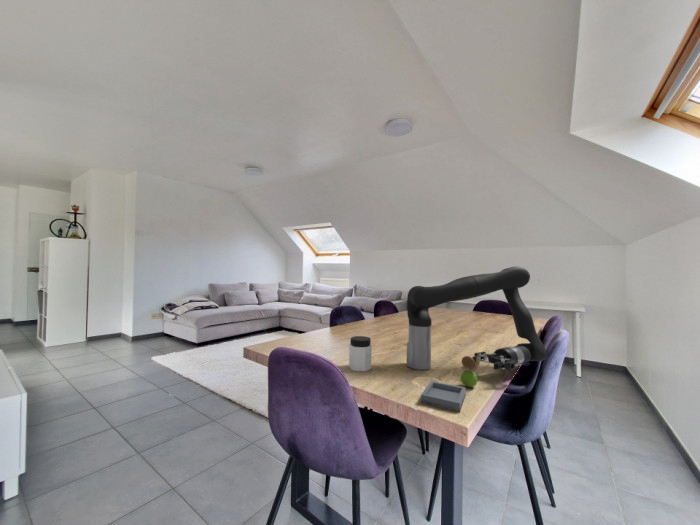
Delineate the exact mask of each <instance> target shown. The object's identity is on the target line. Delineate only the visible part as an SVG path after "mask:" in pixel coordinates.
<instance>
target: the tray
mask: <svg viewBox="0 0 700 525" xmlns="http://www.w3.org/2000/svg"><path fill="white" fill-rule="evenodd" d="M466 389H467V387H466V386H465V387H464V386H460V385H459V386H458V385H454V384H450V383H444V382H439V381H434V380H430V382H429V383H428V384H427V385H426V387H425V389H424V390H423V391H422V393H421V395H420V404H423V405H427V406H432V407H436V408H441V409H444V410H448V411H449V410H450V411H453V412H457V413H460V412H461V410H462V406H463V404H464V401H465V399H466V395H467V390H466Z"/></svg>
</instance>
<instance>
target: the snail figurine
mask: <svg viewBox="0 0 700 525" xmlns="http://www.w3.org/2000/svg"><path fill="white" fill-rule="evenodd" d="M478 353H479V352H478ZM479 355H481V353H479ZM472 357H473V356H470V355H465V356H463V357H462V358H461V369H463V370H464V371H462V373H461V374H460V382H461V384H462V385H464V386H465V387H466V388H473V387H475V386H476V385H477V384H478V377H477V375H476V373H475V371H477V370H478V368H479V366H480V363H481V362H480V360H482V359H481V358H480V357H479V356H478V357H476V359H477V360H476V363H475V361H474V359H473V358H472Z"/></svg>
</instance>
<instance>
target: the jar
mask: <svg viewBox="0 0 700 525" xmlns="http://www.w3.org/2000/svg"><path fill="white" fill-rule="evenodd" d="M371 340H372V339H371V338H370V337H369V336H365V335H364V336H363V335H362V336H361V335H358V336H357V335H354V336H351V337H350V341H349V342H350V344H349V347H348V351H349V353H348V368H349V369H351V370H352V371H353V372H360V373H361V372H367V371H369V370H372V353H373V352H372V349H373V348H372V345H371V343H372V342H371Z"/></svg>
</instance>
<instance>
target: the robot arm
mask: <svg viewBox="0 0 700 525" xmlns="http://www.w3.org/2000/svg"><path fill="white" fill-rule="evenodd" d="M530 280H531V274H530V272H529V271H528V270H527V269H526V268H524V267H522V266H511V267H507V268H503V269H502V270H500V271H497V272H492V273H491V272H490V273H480V274H474V275H469V276H463V277H459V278H456V279H454V280H451V281H450V282H448V283H445V284H441V285H435V286H422V285H414V286H413V287H411V288H410V289H409V291H408V292H407V297H406V299H407V303H406V304H407V306H406V307H407V308H406V309H407V313H406V314H407V318H408V340H407V343H406V363H405V364H406V367H408V368H411V369H413V370H418V371H419V370H420V371H425V370H431V368H432V322H433V320H432V317H431V315H430V313H429V311H430V310H429V309H430V308H433V307H436V306H439V305H442V304H445V303H453V302H458V301H465V300H470V299H474V298H478V297H482V296H485V295H489V294H491V293H495V292H498V291H501V290H502V292H503V294H504V297H505V300H506V301H507V304H508V307H509V309H510V312H511V316H512V319H513V322H514V326H515V331H516V334H517V336H518V337H519V338H521V339H524V340H525V339H526V340H527V341H528V343H527V342H524V343H523V342H521V343H518V344H516V345H514V346H506V347H502V348H501V347H500V348H497V349H495V351H494V352H493V353H487V352H486V351H480V352H474V353H473V354H474V355H473V356H471V357H472V358H473V359H474V361H475V364H476V360H477V359H476V357H478V356H479V357H480V358H481V360H480V363H484V364H488V365H489V364H490V365H493V370H494V371H497V370H507V371H512V370H516V369H518V368H519V366H521V365H523V364H526V363H528V362H530V361H531V362H543V361H545V360H546V358H547V356H548V355H547V348H545V347H546V346H545V345H544V344H543V342H542V340H541V338H540V337H539V334H538V333H537V330H536V327H535V323H534V319H533V316H532V314H531V312H530V311H529V309H528V308H527V306H526V305H525V302H523V300H522V298H521V295H520V291H519V289H521V288H523V287H525V286H527V285H528V283H529V282H530ZM479 353H481V355H479Z"/></svg>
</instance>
